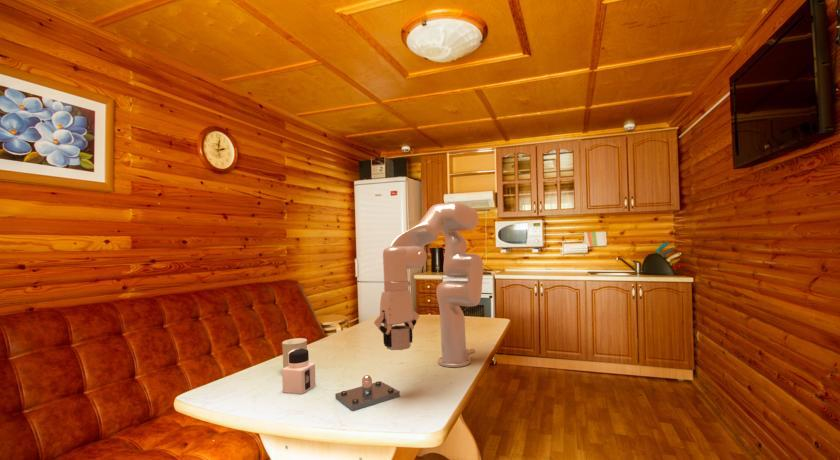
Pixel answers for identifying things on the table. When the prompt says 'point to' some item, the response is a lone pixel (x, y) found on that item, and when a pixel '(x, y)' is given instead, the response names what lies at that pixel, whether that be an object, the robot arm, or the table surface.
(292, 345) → the can
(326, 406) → the table surface
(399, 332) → the hub ring
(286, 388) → the container
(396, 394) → the shaft block
